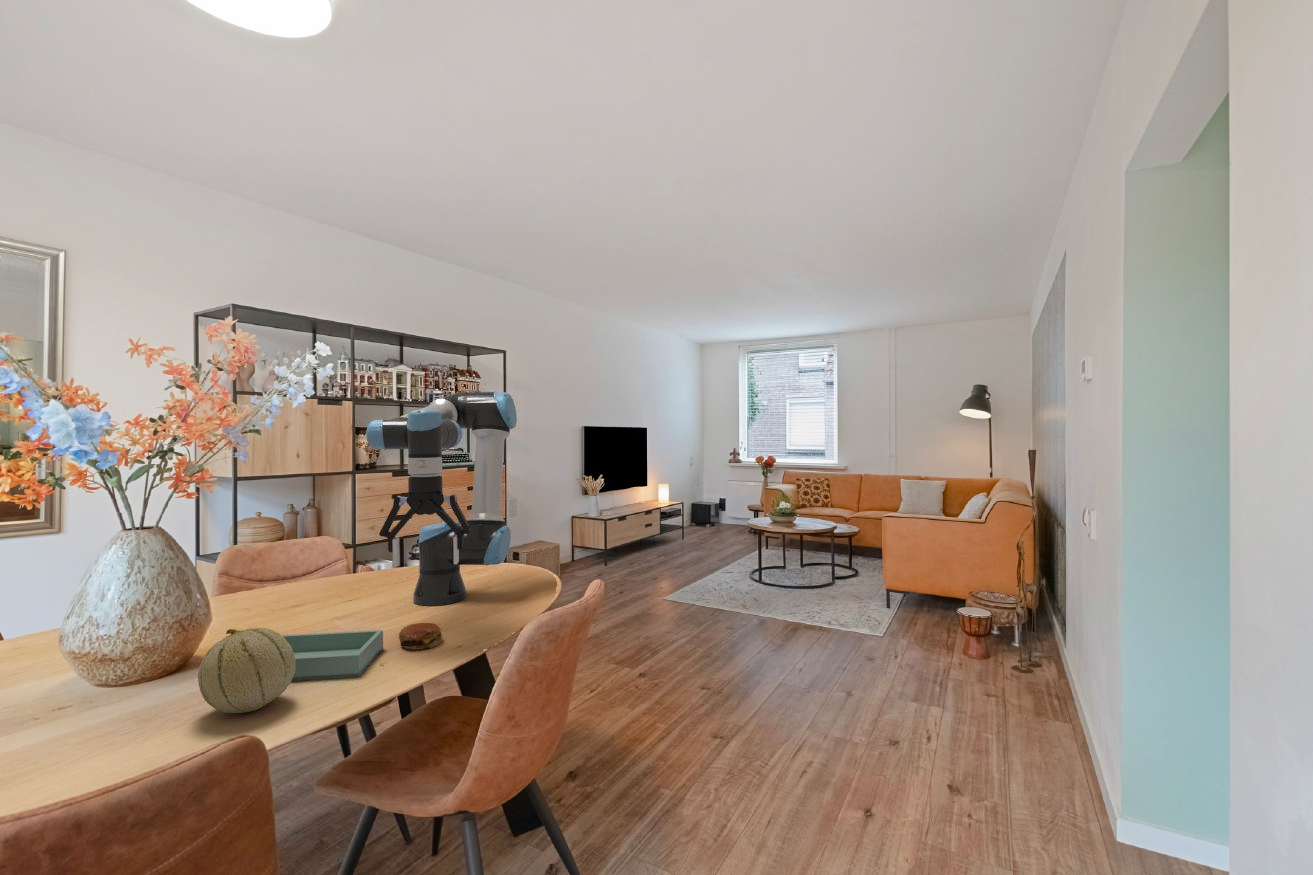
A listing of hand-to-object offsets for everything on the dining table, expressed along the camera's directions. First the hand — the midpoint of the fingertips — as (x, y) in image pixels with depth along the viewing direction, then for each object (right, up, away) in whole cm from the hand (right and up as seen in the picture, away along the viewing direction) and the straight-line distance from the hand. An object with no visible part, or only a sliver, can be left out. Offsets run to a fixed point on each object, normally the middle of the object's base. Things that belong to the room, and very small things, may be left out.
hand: (426, 564), depth 140 cm
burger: (-2, -20, +1) cm, 20 cm away
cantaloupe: (-20, -20, -32) cm, 43 cm away
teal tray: (-20, -19, -12) cm, 30 cm away
